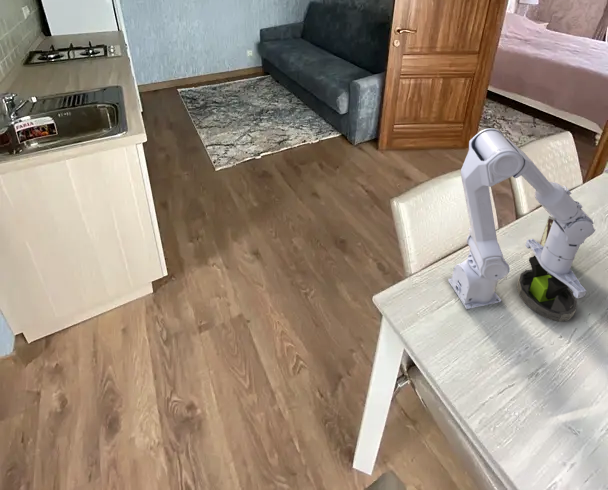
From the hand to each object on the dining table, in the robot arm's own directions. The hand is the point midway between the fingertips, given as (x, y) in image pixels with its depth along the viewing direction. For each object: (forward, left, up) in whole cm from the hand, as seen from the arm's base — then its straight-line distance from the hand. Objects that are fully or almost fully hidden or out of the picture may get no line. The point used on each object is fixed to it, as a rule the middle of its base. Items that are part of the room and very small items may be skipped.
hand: (543, 290), depth 84 cm
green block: (0, 0, -2) cm, 2 cm away
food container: (+11, +8, -2) cm, 14 cm away
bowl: (0, -1, -2) cm, 2 cm away
